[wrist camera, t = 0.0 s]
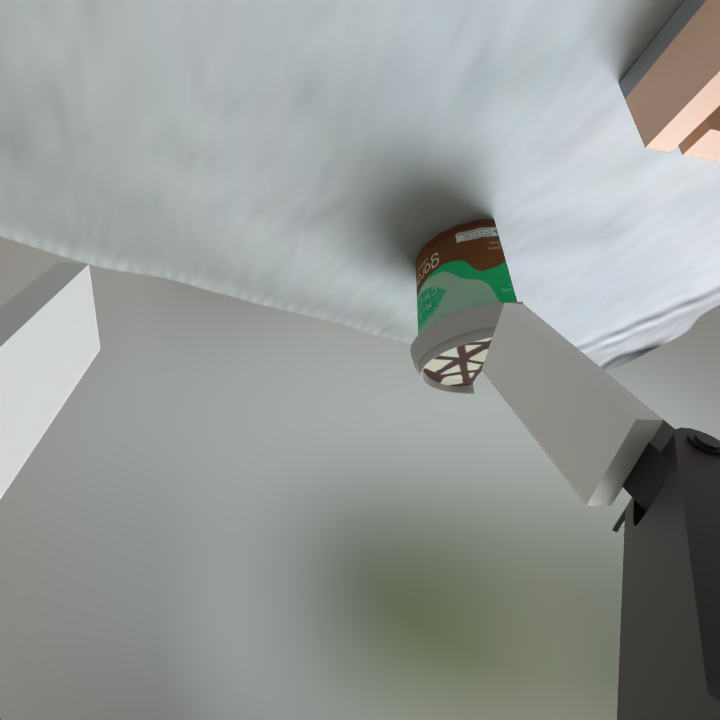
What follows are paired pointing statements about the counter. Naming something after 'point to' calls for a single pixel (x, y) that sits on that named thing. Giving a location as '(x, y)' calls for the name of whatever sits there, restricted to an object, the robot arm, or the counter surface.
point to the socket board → (680, 83)
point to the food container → (459, 304)
